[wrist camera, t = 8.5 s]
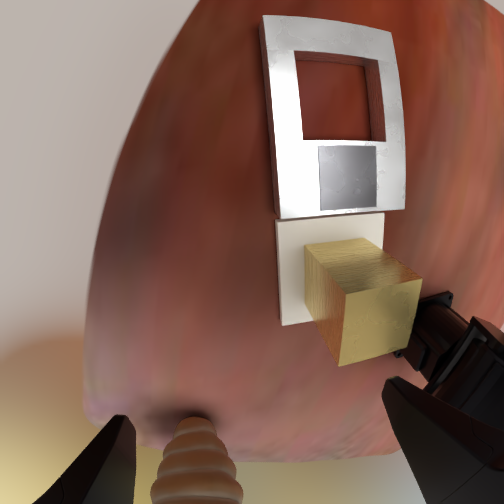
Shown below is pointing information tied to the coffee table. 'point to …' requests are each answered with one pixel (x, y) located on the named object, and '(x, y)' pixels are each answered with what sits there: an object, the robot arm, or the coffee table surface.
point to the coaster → (310, 232)
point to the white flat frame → (332, 151)
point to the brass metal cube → (359, 298)
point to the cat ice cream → (196, 468)
